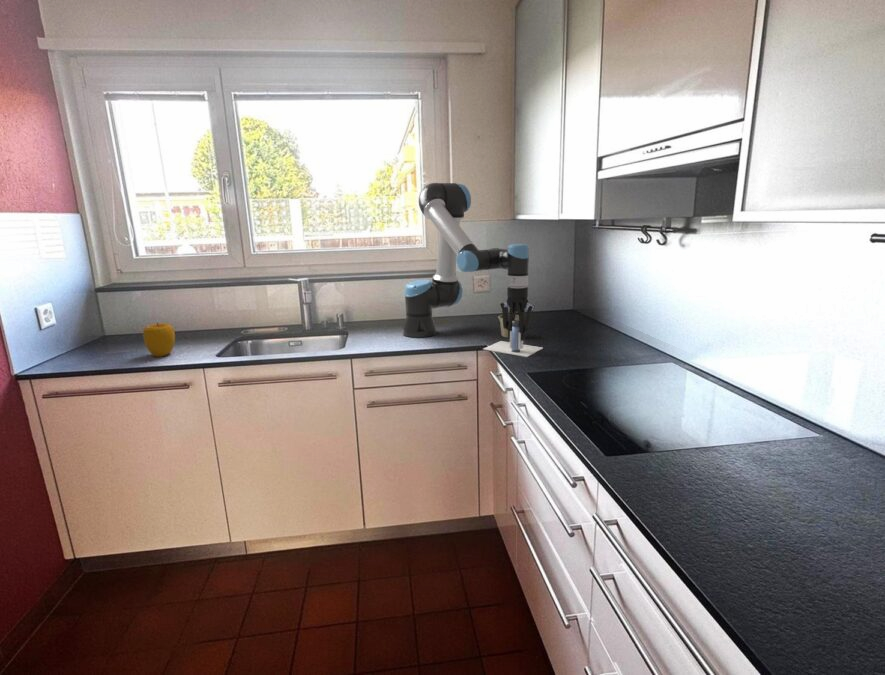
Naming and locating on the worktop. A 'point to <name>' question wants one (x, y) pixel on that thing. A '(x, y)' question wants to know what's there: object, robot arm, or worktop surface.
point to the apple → (159, 339)
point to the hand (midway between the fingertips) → (516, 347)
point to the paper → (505, 348)
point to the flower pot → (503, 330)
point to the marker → (515, 335)
